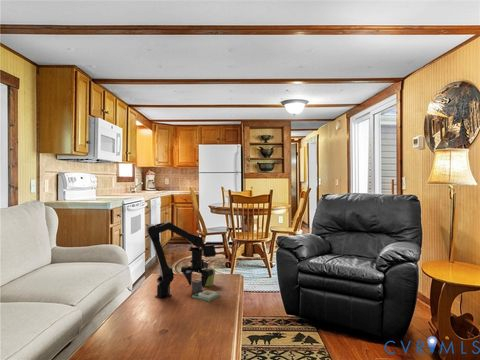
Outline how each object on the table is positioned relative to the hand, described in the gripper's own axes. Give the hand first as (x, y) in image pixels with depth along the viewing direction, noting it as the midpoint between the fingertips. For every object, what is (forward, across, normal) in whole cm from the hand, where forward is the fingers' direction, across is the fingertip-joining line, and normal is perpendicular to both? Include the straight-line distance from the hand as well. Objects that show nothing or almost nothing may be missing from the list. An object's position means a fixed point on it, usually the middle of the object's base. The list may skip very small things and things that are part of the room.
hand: (196, 286), depth 195 cm
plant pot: (+3, +2, -13) cm, 14 cm away
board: (+3, -9, +4) cm, 10 cm away
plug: (+3, 0, 0) cm, 3 cm away
